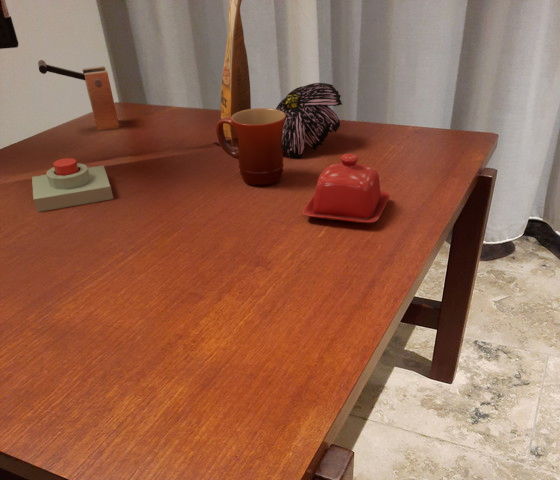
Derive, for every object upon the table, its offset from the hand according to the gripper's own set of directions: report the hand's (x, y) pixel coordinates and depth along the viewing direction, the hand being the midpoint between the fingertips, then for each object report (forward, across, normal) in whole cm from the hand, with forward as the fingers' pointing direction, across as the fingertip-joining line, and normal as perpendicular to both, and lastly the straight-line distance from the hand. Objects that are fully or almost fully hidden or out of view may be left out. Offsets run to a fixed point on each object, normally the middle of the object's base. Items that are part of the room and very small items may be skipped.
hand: (8, 46), depth 88 cm
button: (+16, +13, +4) cm, 21 cm away
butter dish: (+19, +37, +44) cm, 60 cm away
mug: (+19, +19, +34) cm, 44 cm away
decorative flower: (+19, +8, +48) cm, 52 cm away
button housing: (+20, +13, +4) cm, 24 cm away
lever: (+9, -18, +8) cm, 22 cm away
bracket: (+20, -18, +13) cm, 30 cm away
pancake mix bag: (+20, -5, +39) cm, 44 cm away
